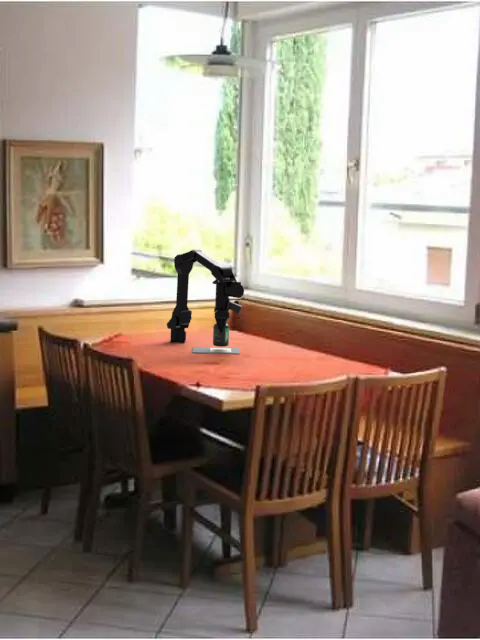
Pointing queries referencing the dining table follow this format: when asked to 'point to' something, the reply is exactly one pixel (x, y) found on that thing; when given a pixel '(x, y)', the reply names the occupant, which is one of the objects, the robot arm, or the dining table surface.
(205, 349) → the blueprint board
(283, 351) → the dining table surface
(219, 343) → the supplement bottle
